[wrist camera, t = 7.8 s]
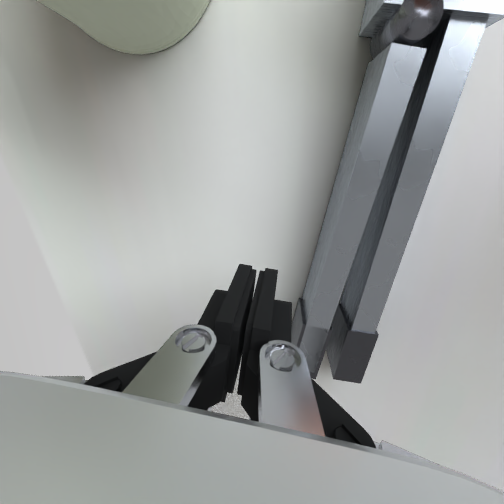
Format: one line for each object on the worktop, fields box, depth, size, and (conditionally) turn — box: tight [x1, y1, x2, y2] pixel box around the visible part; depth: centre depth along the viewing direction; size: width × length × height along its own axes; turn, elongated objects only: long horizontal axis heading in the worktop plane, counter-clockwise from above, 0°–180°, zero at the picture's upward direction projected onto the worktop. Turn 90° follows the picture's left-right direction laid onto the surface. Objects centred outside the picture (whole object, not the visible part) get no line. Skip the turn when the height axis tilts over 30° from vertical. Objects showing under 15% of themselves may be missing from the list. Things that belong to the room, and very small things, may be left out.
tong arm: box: [291, 43, 427, 379], centre depth 15 cm, size 18×2×3 cm, turn 171°
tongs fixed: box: [326, 0, 504, 383], centre depth 14 cm, size 23×5×3 cm, turn 174°
